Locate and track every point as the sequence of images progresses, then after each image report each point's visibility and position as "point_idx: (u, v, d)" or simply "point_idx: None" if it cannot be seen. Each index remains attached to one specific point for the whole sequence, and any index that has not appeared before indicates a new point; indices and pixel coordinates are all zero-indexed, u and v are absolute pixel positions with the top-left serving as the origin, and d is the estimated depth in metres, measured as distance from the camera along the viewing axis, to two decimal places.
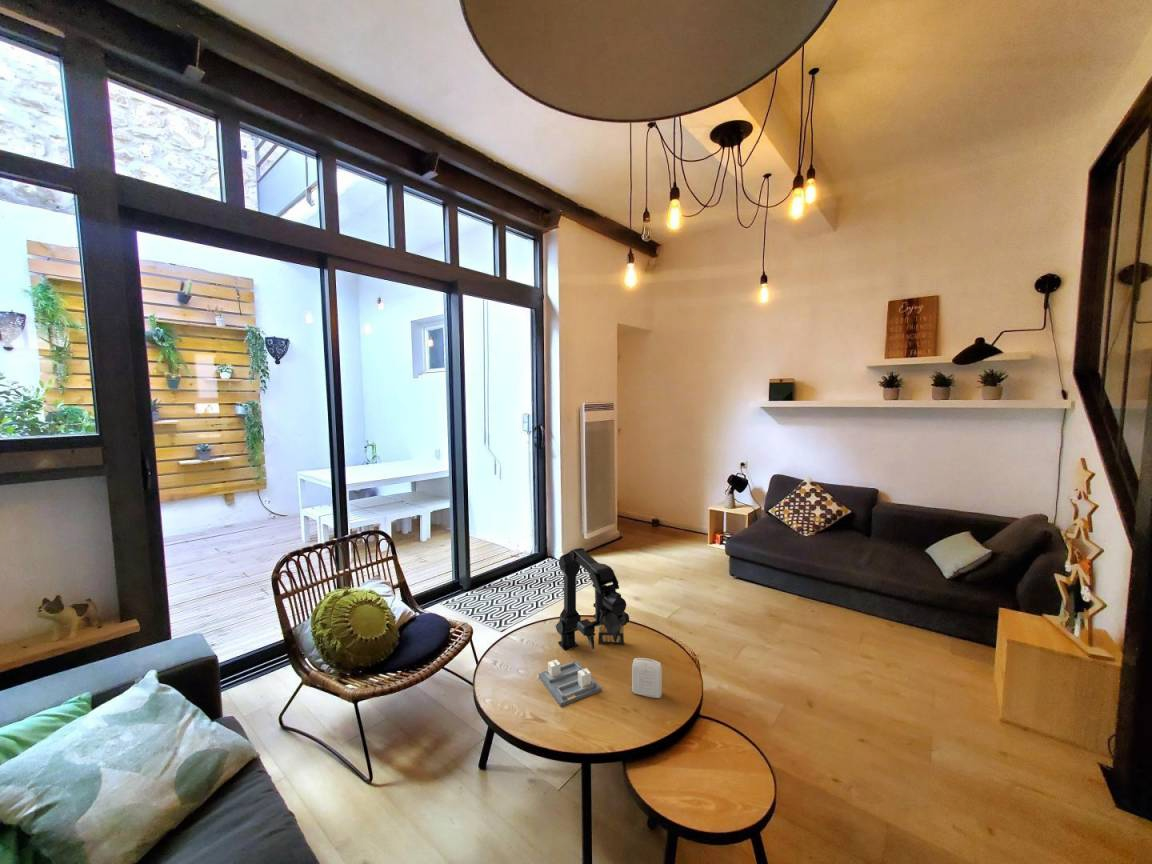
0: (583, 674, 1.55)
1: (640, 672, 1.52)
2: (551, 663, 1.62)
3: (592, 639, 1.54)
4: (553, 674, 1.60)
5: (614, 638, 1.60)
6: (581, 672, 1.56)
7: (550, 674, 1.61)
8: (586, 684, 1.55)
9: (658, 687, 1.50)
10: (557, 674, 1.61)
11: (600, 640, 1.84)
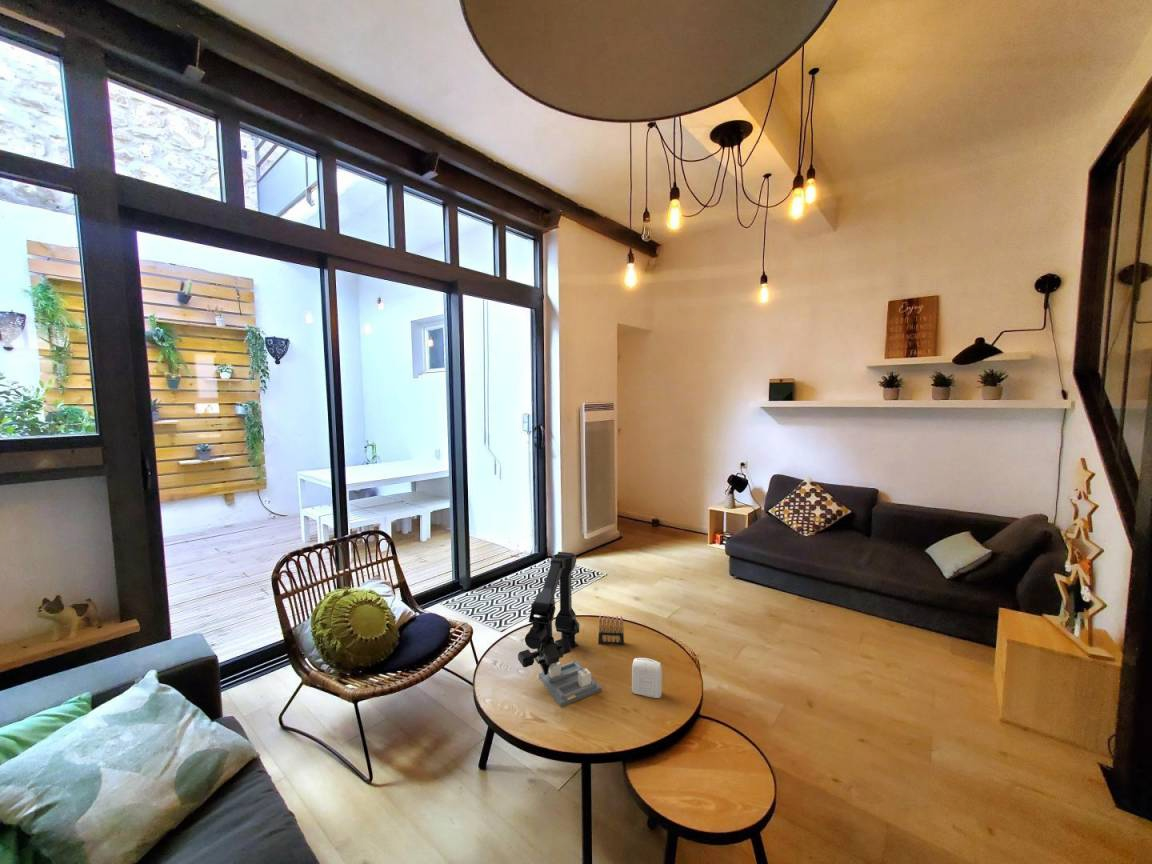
0: (583, 674, 1.55)
1: (640, 672, 1.52)
2: None
3: (544, 665, 1.59)
4: (553, 674, 1.60)
5: None
6: (581, 672, 1.56)
7: (550, 674, 1.61)
8: (586, 684, 1.55)
9: (658, 687, 1.50)
10: (557, 674, 1.61)
11: (600, 640, 1.84)
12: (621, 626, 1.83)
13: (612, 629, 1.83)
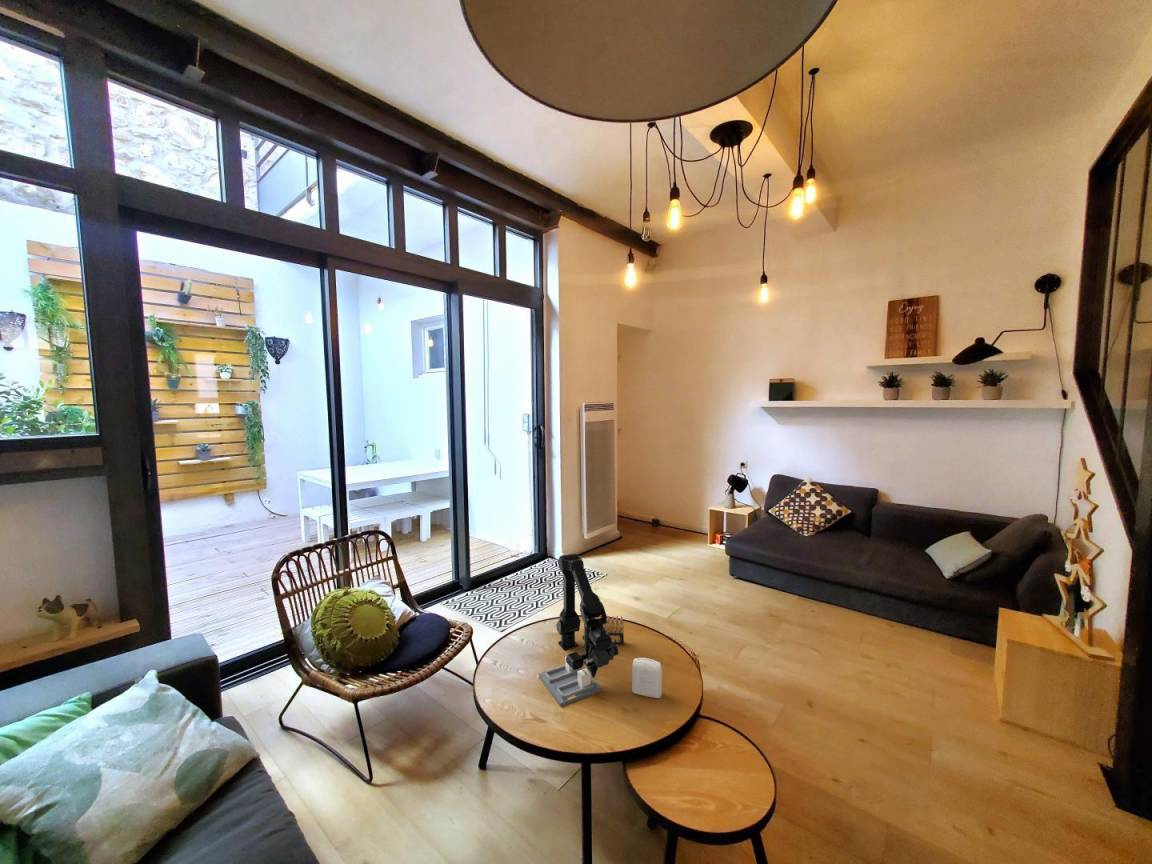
0: (583, 674, 1.55)
1: (640, 672, 1.52)
2: None
3: (592, 668, 1.56)
4: (570, 668, 1.63)
5: None
6: (581, 672, 1.56)
7: (567, 668, 1.64)
8: (586, 684, 1.55)
9: (658, 687, 1.50)
10: None
11: None
12: (621, 626, 1.83)
13: (612, 629, 1.83)
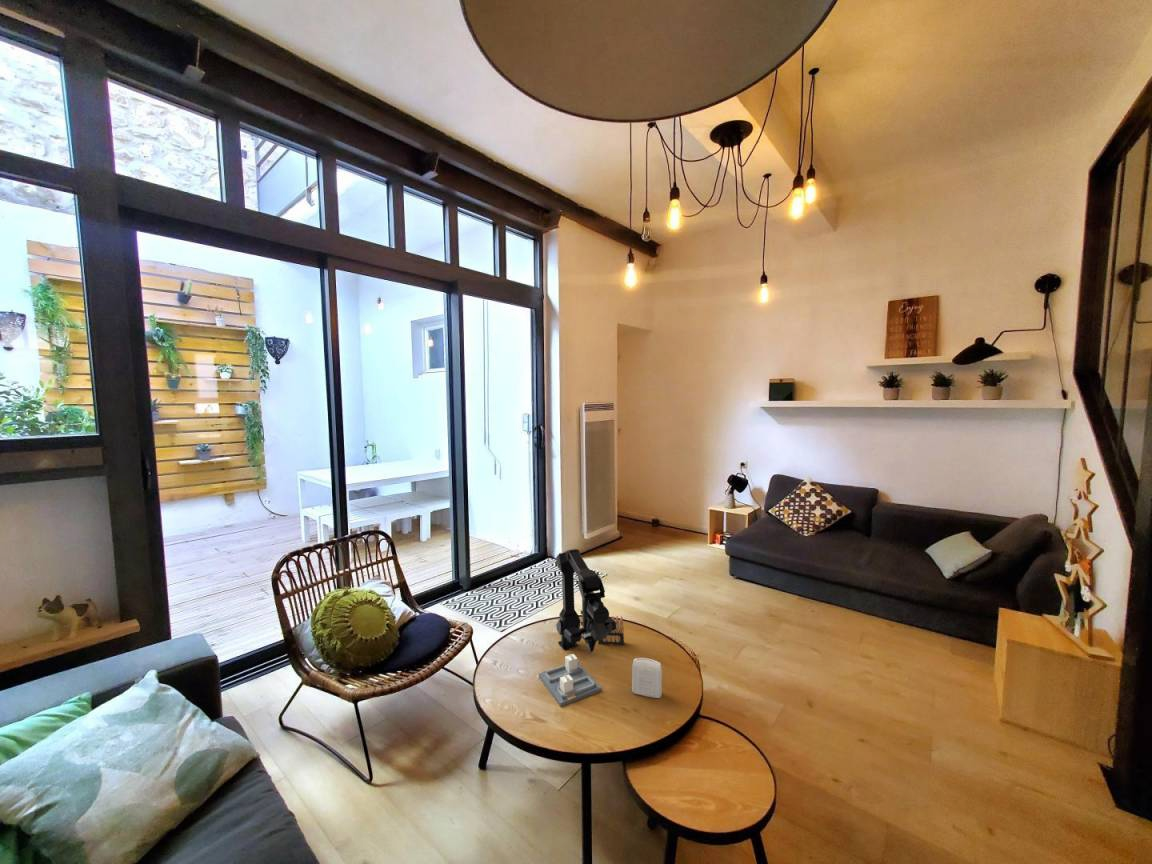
0: (565, 681, 1.52)
1: (640, 672, 1.52)
2: (568, 657, 1.65)
3: (590, 642, 1.56)
4: (570, 668, 1.63)
5: None
6: (563, 678, 1.53)
7: (567, 668, 1.64)
8: (568, 691, 1.52)
9: (658, 687, 1.50)
10: (574, 668, 1.64)
11: (600, 640, 1.84)
12: (621, 626, 1.83)
13: None
